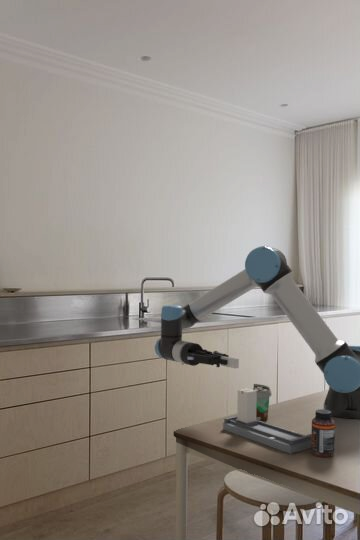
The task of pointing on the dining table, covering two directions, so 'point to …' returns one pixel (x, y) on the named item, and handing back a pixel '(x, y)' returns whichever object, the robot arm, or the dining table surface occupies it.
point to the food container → (262, 401)
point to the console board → (269, 435)
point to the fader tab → (247, 407)
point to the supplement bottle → (323, 434)
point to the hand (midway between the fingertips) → (236, 363)
